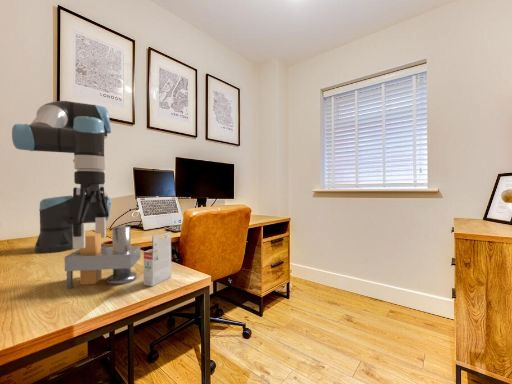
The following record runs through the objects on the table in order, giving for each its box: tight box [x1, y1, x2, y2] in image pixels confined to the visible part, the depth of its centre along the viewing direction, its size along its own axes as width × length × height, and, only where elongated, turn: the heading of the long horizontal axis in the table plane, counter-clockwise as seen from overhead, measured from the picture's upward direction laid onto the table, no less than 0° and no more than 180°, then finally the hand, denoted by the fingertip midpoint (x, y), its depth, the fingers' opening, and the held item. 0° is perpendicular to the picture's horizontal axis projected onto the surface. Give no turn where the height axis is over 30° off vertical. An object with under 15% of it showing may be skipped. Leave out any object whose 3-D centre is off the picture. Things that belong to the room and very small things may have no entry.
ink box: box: [143, 230, 172, 287], centre depth 76 cm, size 4×8×15 cm, turn 158°
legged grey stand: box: [64, 225, 141, 290], centre depth 76 cm, size 17×10×16 cm, turn 100°
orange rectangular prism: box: [79, 232, 102, 285], centre depth 75 cm, size 4×4×14 cm
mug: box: [101, 240, 113, 247], centre depth 100 cm, size 12×7×7 cm, turn 37°
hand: (90, 242), depth 75 cm, fingers open, 13 cm apart
